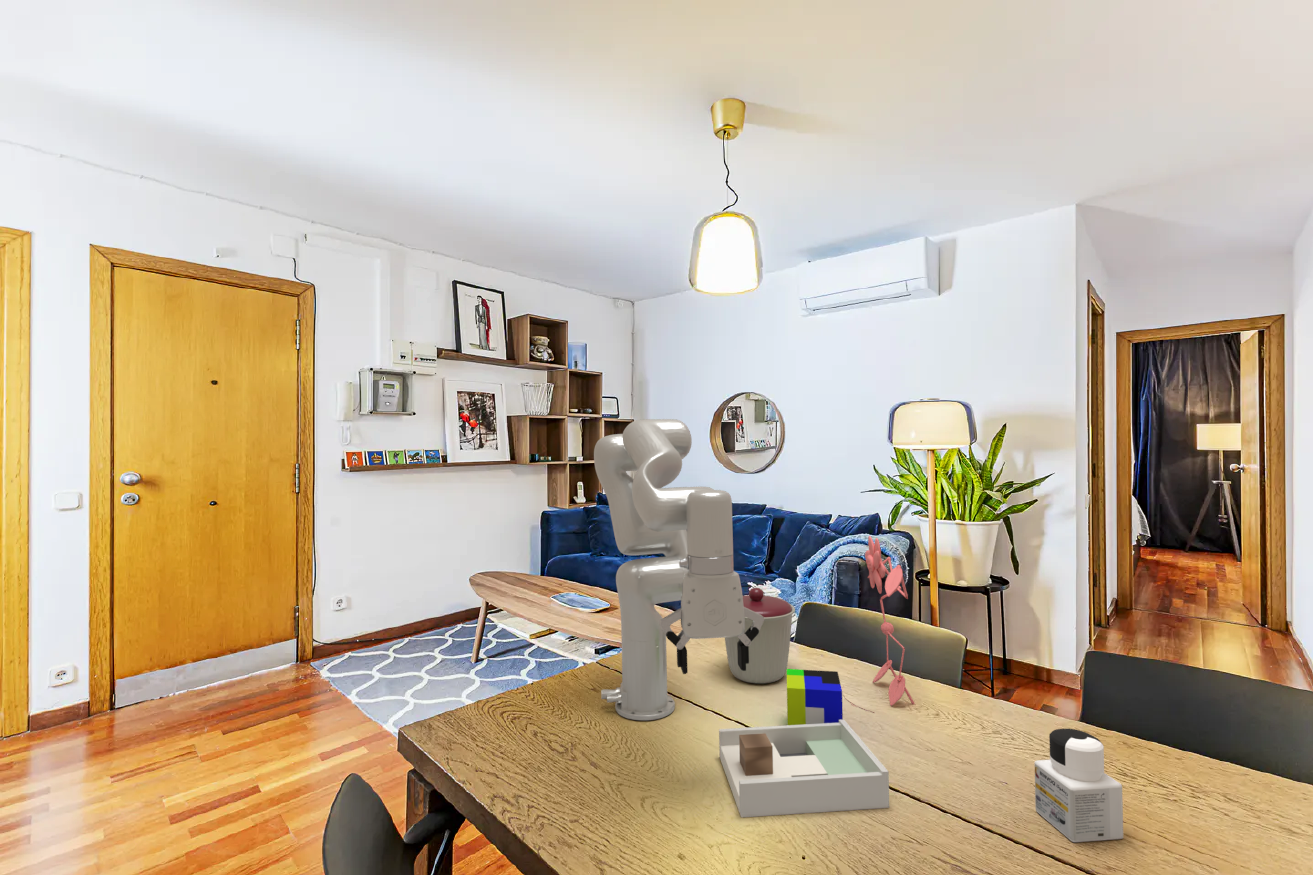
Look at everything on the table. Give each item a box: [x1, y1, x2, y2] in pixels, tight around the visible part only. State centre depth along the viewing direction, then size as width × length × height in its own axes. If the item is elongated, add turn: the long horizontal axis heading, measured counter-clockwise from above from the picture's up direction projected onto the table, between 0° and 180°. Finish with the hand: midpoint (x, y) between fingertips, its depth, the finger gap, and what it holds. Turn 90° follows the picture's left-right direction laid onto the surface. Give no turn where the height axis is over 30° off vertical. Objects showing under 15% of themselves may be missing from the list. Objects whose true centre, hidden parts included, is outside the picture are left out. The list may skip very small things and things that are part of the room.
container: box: [1034, 728, 1124, 843], centre depth 90 cm, size 8×8×13 cm
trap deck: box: [718, 719, 890, 818], centre depth 104 cm, size 23×18×6 cm
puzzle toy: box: [786, 668, 844, 725], centre depth 121 cm, size 10×10×10 cm
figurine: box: [842, 535, 915, 714], centre depth 138 cm, size 15×26×35 cm, turn 174°
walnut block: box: [739, 733, 773, 776], centre depth 103 cm, size 4×4×4 cm
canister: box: [724, 587, 796, 685], centre depth 150 cm, size 18×18×21 cm
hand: (713, 669), depth 103 cm, fingers open, 9 cm apart
